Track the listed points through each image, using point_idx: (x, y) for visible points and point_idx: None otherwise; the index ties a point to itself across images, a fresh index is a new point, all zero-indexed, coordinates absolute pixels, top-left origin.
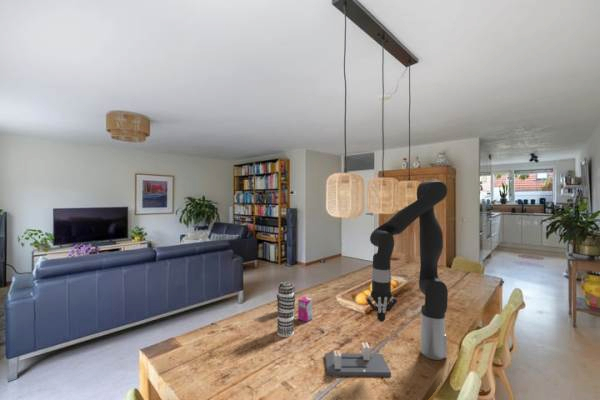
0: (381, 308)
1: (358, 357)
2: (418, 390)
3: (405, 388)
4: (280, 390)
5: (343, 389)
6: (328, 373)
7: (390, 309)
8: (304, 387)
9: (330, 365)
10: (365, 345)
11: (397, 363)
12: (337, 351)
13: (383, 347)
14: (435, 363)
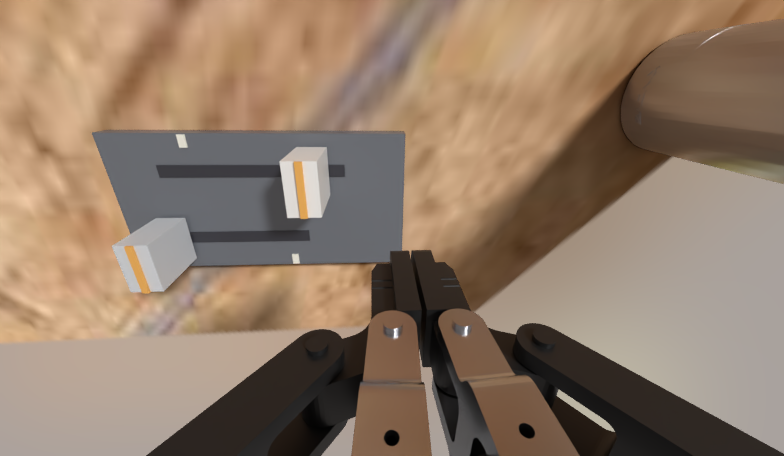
0: (444, 351)
1: (278, 169)
2: None
3: None
4: (6, 328)
5: (221, 315)
6: None
7: (556, 414)
8: (84, 314)
9: None
10: (298, 199)
11: (460, 175)
12: (135, 260)
13: (448, 23)
14: (625, 171)
